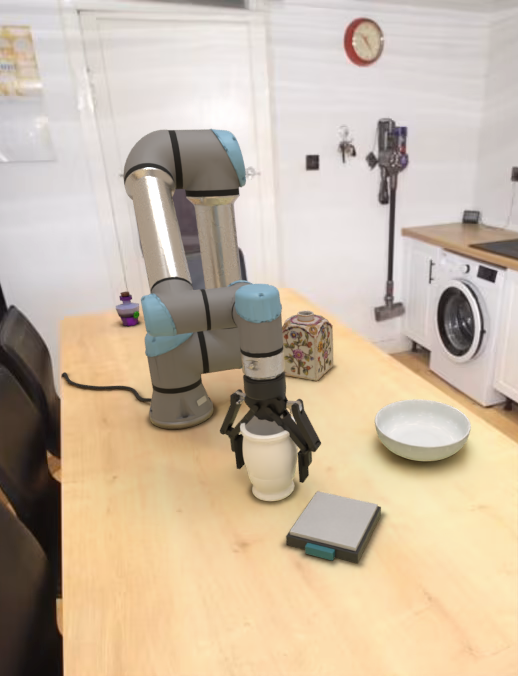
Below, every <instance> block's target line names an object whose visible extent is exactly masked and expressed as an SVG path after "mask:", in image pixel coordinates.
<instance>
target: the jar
mask: <svg viewBox="0 0 518 676" xmlns="http://www.w3.org/2000/svg"><path fill="white" fill-rule="evenodd" d="M280 417H281V419H282V418H283V415H281V416H280ZM291 418H292V419H293V420H294V417H293V415H291ZM294 422H295V420H294ZM295 423H296V422H295ZM240 430H241V432H240V434H242V435H243V458H244V463H245V465H244V466H245V469H246V472H247V476H248V478H249V481H250V483H251V484H252V488H251V491H252V494H253V496H255V497H256V498H257V499H258V500H261V501H264V502H276V501H281V500H284V499H285V498H288V497H289V496H290V495H291V494H292V493H293V492H294V490H295V482H294V479H295V475H296V470H297V464H298V452H299V450H298V449H299V448H298V446H297V445H296V444H295V443H294V441H293V440H292V439H291V438H290V437H289V432H288V431H285V430H284V429H283V428H282V427H281V426H278V425H277V423H276V422H275V421H273V422H270V421H267V420H259V419H258V418H257V417H256V416H254V417H253V418H252V419H251V420H250V421H249V422H248V423H247V424H246V425H245V423H241V425H240Z"/></svg>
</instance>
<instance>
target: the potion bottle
mask: <svg viewBox="0 0 518 676" xmlns="http://www.w3.org/2000/svg"><path fill="white" fill-rule="evenodd" d="M132 300H133V295H132V294H130V291H122V292H120V295H119V301H120V302H122V303H120V304H118V305H115V310H116V313H117V315H118V317H119V318H120V320H121V322H122V326H123V327H127V328H128V327H136V326H137V325H139V317H140V315H141V314H140V303H137V302H131V301H132Z"/></svg>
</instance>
